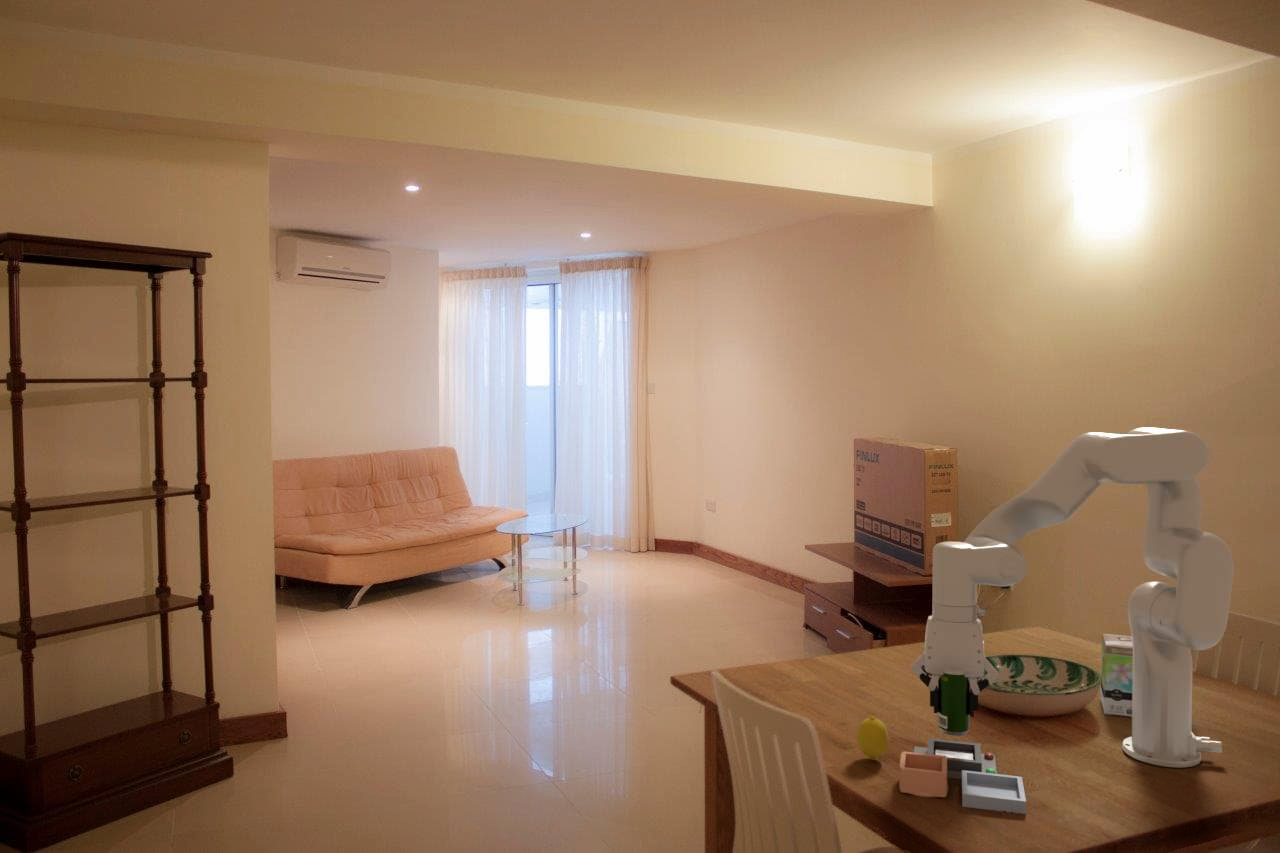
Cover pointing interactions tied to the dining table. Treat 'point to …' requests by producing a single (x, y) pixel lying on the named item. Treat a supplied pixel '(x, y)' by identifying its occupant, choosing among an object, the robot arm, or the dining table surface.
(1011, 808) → the light blue-grey square tray
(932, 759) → the peach open box
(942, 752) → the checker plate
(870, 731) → the lemon
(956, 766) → the button control box
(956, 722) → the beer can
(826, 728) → the dining table surface
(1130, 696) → the tea box
